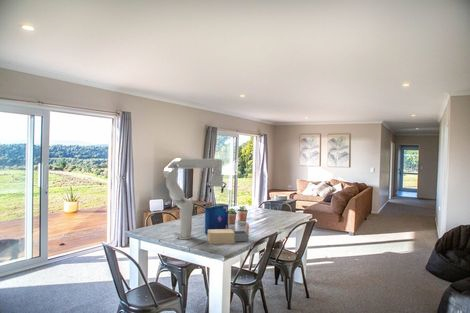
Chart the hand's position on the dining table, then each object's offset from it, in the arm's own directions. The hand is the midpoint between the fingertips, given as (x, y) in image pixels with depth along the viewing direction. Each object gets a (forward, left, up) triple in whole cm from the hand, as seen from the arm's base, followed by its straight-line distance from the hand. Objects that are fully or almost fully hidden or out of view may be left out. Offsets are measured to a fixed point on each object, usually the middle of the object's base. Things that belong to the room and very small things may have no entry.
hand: (216, 193), depth 273 cm
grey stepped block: (+13, -23, -34) cm, 44 cm away
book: (+1, +1, -35) cm, 35 cm away
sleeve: (+1, -23, -35) cm, 42 cm away
